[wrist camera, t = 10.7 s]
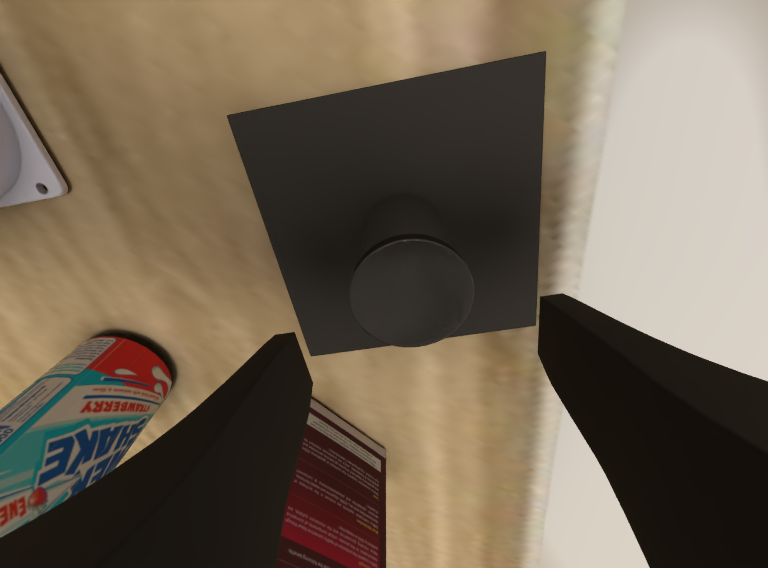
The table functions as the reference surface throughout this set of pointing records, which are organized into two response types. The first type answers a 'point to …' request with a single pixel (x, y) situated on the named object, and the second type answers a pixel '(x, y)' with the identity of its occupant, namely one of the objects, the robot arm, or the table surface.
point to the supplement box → (335, 499)
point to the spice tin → (409, 274)
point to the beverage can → (76, 423)
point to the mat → (404, 186)
